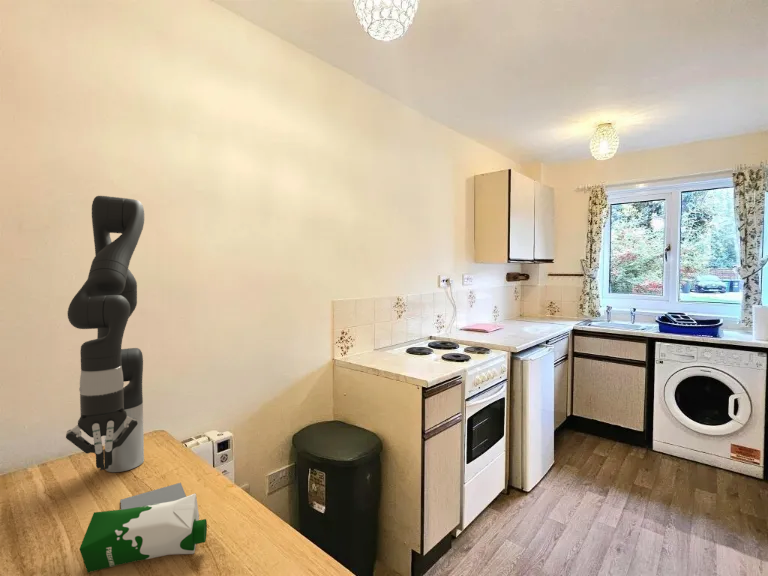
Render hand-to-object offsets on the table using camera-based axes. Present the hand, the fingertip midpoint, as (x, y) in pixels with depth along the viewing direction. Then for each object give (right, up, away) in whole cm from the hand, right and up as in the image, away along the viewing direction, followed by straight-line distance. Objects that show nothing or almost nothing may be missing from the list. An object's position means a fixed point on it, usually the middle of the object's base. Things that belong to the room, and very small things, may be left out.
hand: (104, 468), depth 84 cm
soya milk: (+5, -9, -11) cm, 15 cm away
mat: (+8, -13, +5) cm, 16 cm away
